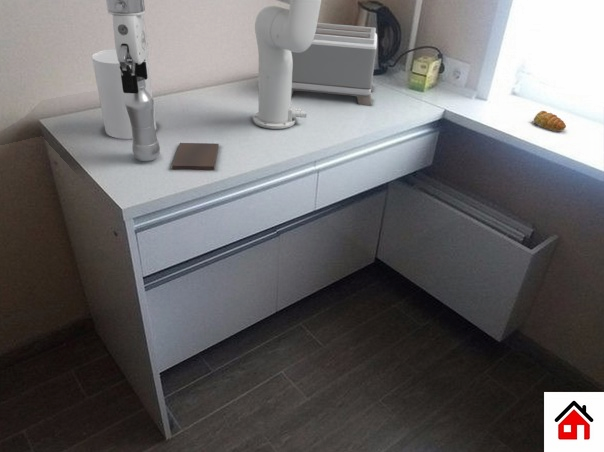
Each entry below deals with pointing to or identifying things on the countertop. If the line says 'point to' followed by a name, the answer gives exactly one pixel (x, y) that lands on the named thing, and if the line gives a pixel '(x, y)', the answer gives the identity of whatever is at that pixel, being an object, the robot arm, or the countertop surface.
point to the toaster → (337, 62)
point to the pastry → (549, 121)
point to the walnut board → (196, 156)
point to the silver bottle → (142, 123)
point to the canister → (114, 93)
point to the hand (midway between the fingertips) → (136, 85)
